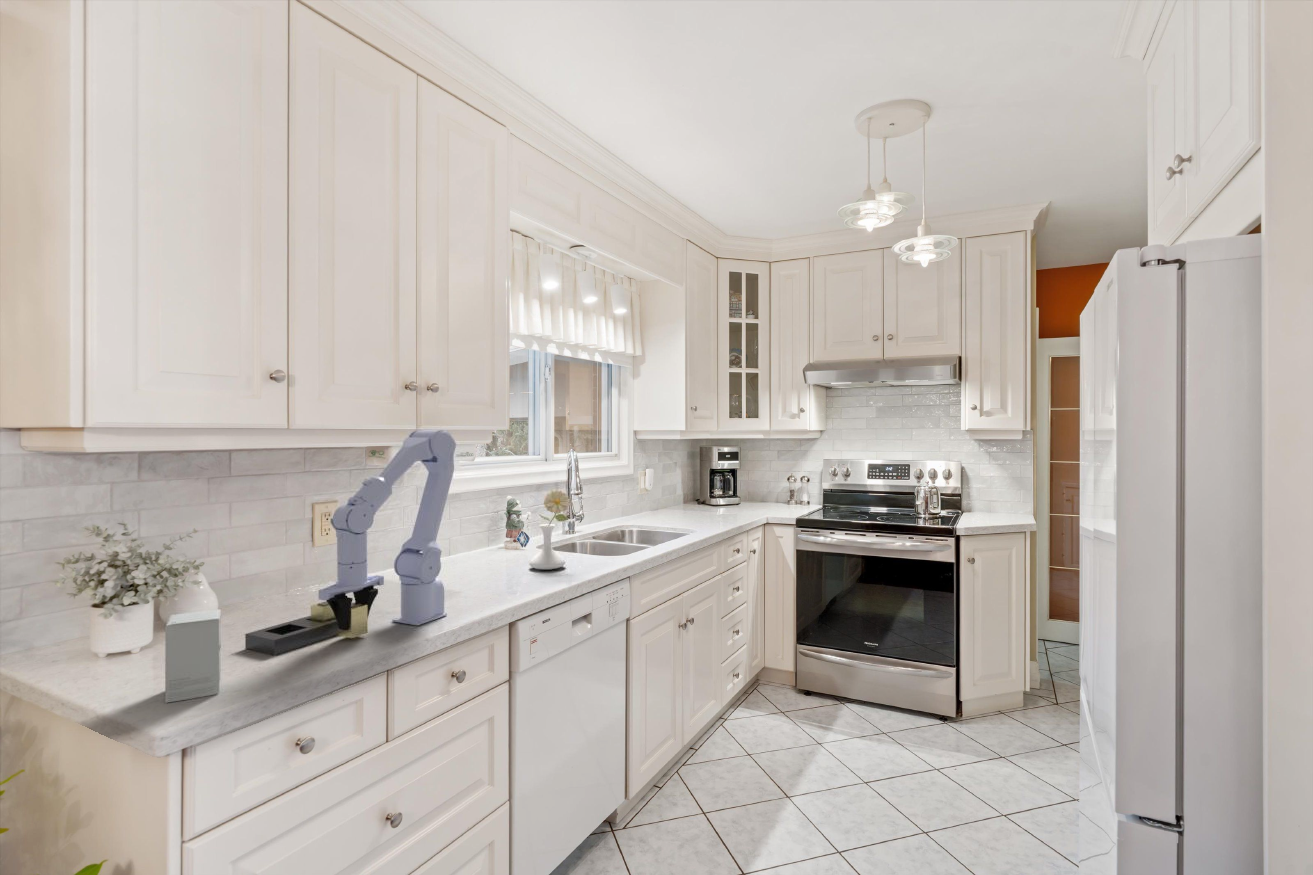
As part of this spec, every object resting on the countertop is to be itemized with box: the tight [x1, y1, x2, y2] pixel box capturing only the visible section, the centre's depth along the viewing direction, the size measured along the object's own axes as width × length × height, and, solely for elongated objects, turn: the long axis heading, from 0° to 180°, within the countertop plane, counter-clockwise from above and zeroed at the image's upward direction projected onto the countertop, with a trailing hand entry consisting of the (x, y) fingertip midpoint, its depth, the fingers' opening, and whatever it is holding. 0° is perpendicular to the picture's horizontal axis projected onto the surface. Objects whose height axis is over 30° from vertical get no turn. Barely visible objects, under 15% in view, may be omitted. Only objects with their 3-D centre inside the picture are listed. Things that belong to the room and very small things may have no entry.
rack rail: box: [244, 615, 338, 656], centre depth 137 cm, size 20×9×3 cm, turn 154°
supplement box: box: [164, 608, 222, 703], centre depth 109 cm, size 7×7×13 cm
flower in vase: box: [528, 489, 571, 571], centre depth 206 cm, size 13×11×25 cm
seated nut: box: [310, 600, 336, 623], centre depth 141 cm, size 4×4×6 cm
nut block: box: [337, 602, 369, 639], centre depth 137 cm, size 4×4×6 cm
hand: (352, 626), depth 137 cm, fingers closed on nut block, 4 cm apart
